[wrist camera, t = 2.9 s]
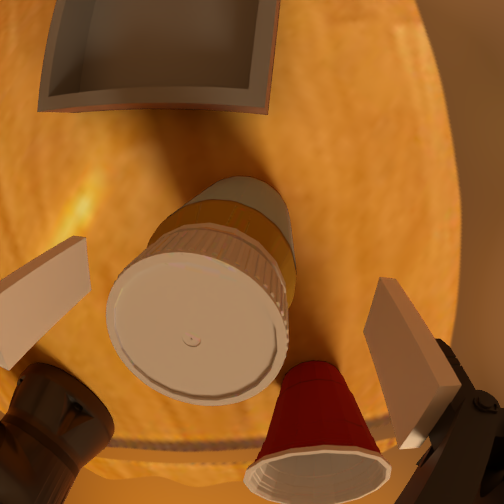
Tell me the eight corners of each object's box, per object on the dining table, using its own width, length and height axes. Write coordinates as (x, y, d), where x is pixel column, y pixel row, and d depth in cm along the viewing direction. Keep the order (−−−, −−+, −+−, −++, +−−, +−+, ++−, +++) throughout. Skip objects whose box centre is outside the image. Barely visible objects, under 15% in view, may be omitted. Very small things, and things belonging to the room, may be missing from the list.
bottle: (306, 236, 24) (338, 372, 10) (229, 279, 25) (179, 429, 11) (257, 156, 22) (217, 186, 8) (179, 207, 24) (61, 300, 10)
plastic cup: (232, 384, 29) (211, 486, 18) (313, 317, 26) (328, 430, 15) (307, 429, 31) (310, 521, 20) (385, 376, 28) (417, 473, 17)
